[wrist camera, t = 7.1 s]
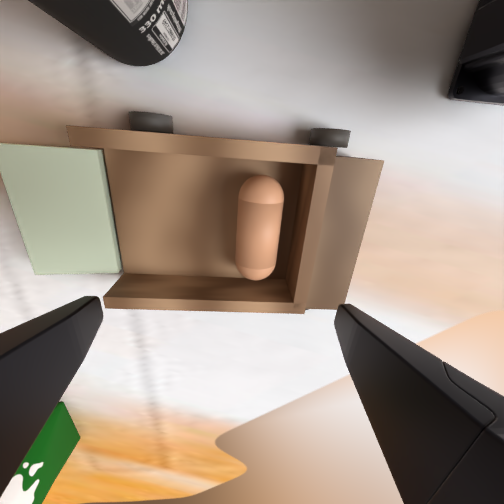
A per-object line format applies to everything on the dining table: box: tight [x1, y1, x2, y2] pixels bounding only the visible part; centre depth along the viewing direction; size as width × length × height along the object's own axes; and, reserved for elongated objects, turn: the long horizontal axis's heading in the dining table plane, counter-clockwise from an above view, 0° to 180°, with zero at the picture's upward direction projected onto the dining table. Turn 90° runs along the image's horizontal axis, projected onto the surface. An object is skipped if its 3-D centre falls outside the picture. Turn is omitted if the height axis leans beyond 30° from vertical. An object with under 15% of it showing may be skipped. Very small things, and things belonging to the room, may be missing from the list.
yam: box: [235, 175, 284, 280], centre depth 18 cm, size 3×8×3 cm, turn 176°
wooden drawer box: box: [66, 111, 384, 314], centre depth 18 cm, size 18×14×4 cm
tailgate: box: [0, 143, 122, 275], centre depth 18 cm, size 1×9×6 cm
